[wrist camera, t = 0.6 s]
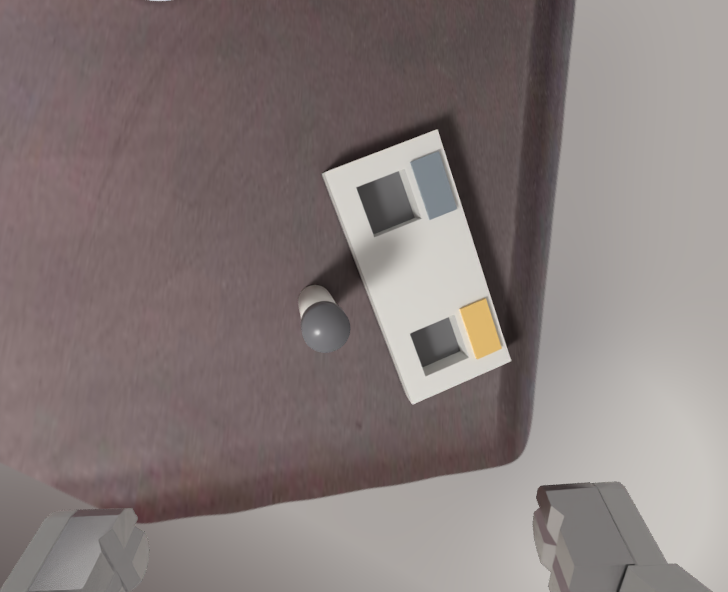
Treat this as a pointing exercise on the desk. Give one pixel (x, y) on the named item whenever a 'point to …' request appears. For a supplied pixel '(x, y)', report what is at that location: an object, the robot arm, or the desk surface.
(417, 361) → the socket board
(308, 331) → the grey capped white cylinder
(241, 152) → the desk surface
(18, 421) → the desk surface
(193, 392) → the desk surface
